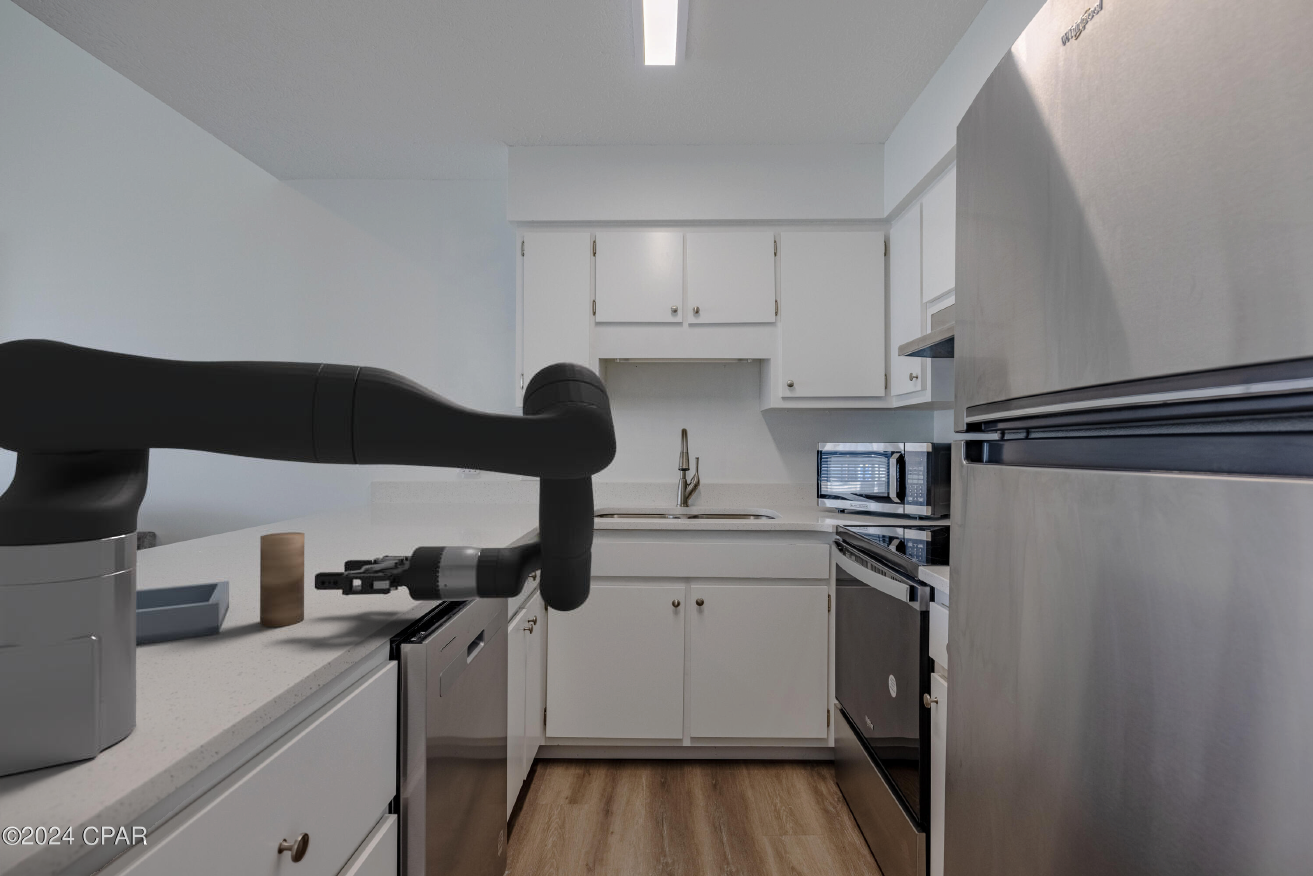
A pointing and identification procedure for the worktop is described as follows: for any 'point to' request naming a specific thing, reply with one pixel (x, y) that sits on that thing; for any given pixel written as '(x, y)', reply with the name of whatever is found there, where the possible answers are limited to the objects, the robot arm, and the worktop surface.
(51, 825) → the worktop surface
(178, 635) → the tray
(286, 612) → the canister
